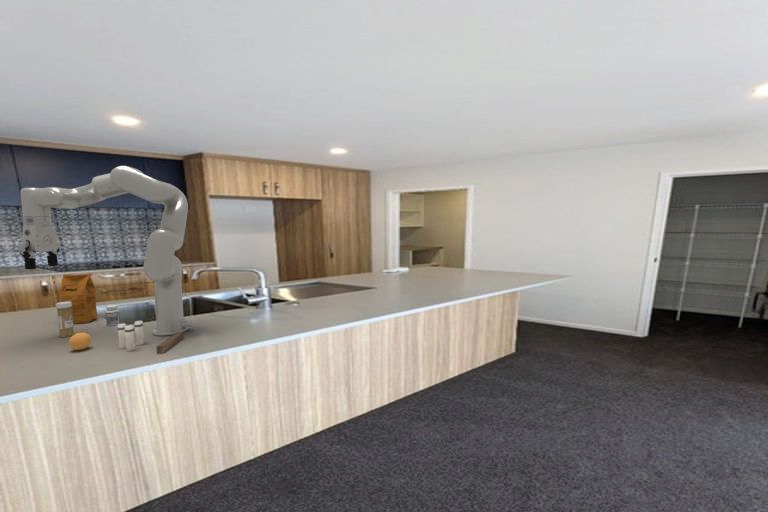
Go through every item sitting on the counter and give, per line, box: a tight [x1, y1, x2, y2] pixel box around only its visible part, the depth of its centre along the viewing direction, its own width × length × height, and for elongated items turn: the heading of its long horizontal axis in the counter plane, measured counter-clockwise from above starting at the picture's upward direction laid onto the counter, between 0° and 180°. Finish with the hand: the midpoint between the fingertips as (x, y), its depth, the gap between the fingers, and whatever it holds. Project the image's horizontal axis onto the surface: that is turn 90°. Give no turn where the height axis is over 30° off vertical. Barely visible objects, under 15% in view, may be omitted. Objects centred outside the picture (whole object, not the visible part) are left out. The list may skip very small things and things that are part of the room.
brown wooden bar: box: [156, 332, 184, 354], centre depth 130 cm, size 2×16×2 cm, turn 7°
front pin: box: [117, 323, 127, 350], centre depth 128 cm, size 3×3×8 cm
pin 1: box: [125, 324, 136, 352], centre depth 125 cm, size 3×3×8 cm
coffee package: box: [59, 272, 99, 325], centre depth 162 cm, size 10×12×22 cm
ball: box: [68, 332, 92, 351], centre depth 126 cm, size 6×6×6 cm
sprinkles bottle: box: [55, 301, 75, 338], centre depth 142 cm, size 5×5×13 cm
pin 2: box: [133, 320, 145, 346], centre depth 131 cm, size 3×3×8 cm
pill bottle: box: [105, 304, 121, 327], centre depth 157 cm, size 5×5×8 cm
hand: (42, 267), depth 135 cm, fingers open, 9 cm apart
